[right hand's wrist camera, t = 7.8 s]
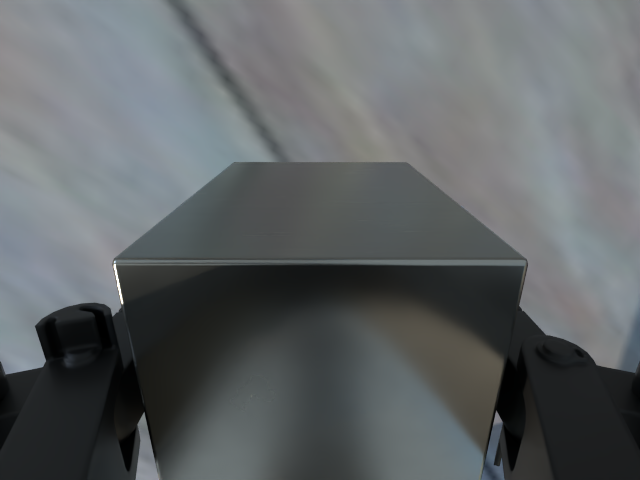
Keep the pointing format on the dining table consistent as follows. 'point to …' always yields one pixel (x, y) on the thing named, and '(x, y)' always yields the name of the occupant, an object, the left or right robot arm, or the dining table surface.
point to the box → (320, 326)
